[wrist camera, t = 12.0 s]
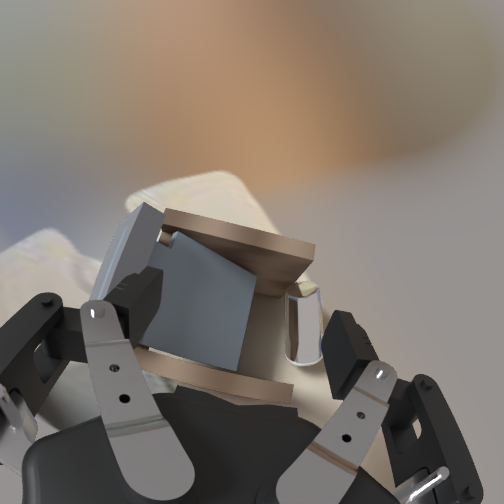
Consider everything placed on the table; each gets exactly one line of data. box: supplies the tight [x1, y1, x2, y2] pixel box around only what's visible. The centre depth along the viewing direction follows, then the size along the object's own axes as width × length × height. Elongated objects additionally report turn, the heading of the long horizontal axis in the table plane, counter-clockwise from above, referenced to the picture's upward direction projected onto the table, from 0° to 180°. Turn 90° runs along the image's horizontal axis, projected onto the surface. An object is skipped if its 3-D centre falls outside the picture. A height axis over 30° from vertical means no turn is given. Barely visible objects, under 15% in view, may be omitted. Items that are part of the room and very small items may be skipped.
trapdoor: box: [89, 202, 257, 371], centre depth 23 cm, size 13×9×6 cm
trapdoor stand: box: [134, 208, 315, 404], centre depth 25 cm, size 13×13×12 cm
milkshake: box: [284, 281, 324, 366], centre depth 28 cm, size 4×5×10 cm
